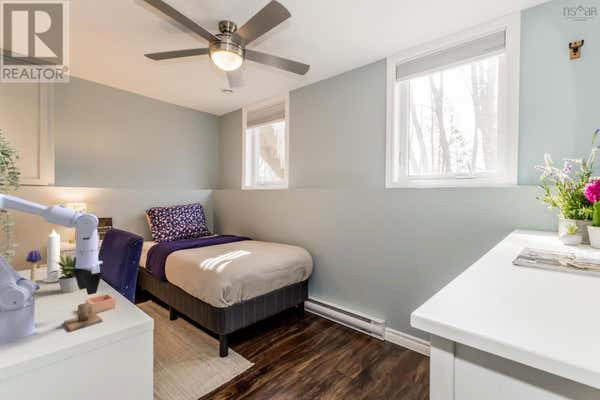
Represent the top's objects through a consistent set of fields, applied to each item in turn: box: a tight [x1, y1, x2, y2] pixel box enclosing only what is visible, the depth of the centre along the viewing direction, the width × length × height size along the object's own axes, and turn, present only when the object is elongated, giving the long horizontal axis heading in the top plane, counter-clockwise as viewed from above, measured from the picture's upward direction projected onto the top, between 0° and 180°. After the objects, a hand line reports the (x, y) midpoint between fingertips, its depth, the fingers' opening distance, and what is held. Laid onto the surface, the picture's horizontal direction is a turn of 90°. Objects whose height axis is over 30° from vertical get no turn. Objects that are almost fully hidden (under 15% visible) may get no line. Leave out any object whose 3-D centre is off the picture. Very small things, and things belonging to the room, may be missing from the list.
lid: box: [63, 302, 103, 332], centre depth 85 cm, size 8×8×6 cm
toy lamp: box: [25, 250, 42, 291], centre depth 114 cm, size 5×5×17 cm
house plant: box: [50, 253, 79, 294], centre depth 113 cm, size 14×14×16 cm
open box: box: [85, 293, 116, 315], centre depth 96 cm, size 7×7×4 cm
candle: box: [43, 228, 61, 284], centre depth 126 cm, size 7×7×25 cm
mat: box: [62, 320, 104, 333], centre depth 85 cm, size 8×8×1 cm
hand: (87, 291), depth 87 cm, fingers open, 7 cm apart
